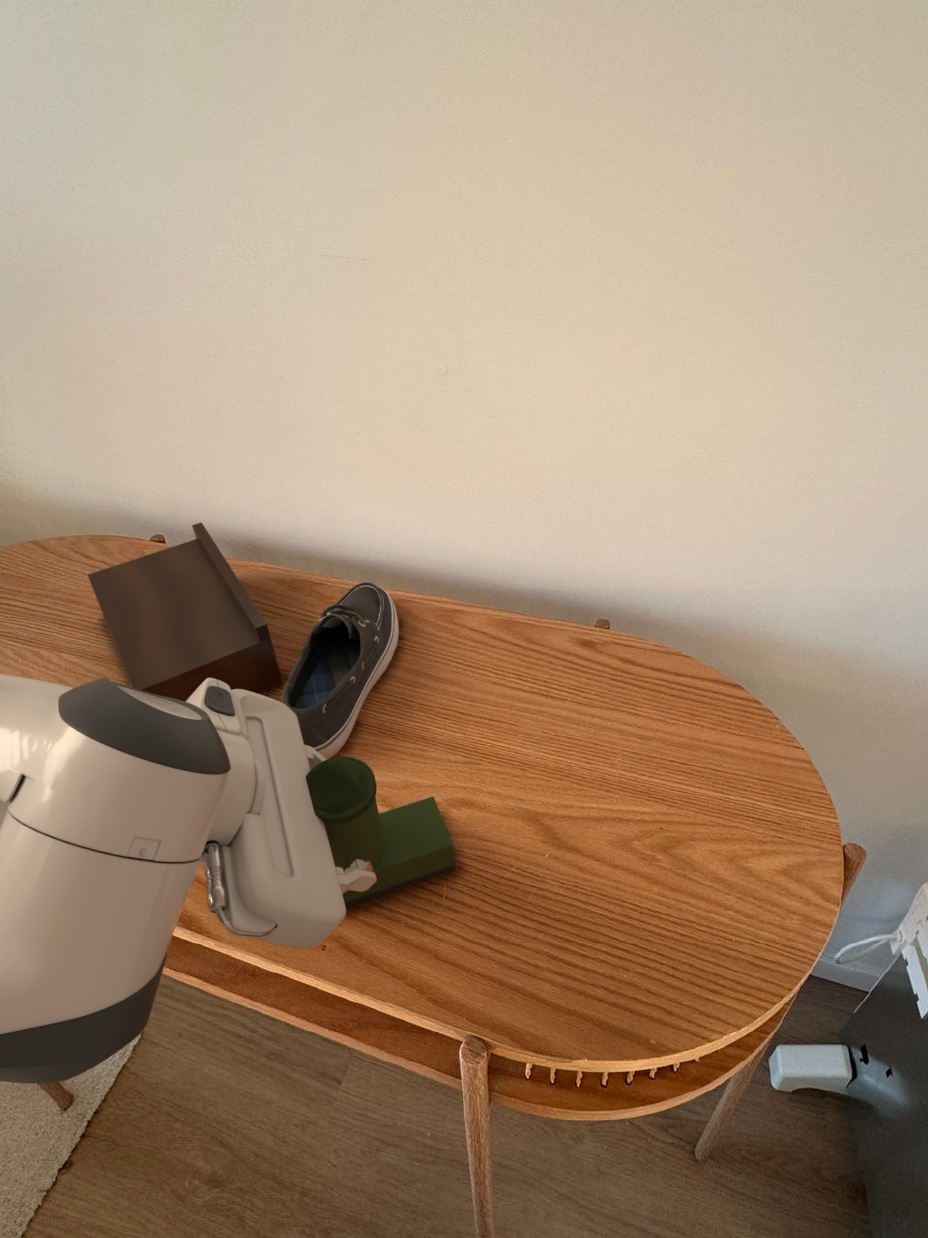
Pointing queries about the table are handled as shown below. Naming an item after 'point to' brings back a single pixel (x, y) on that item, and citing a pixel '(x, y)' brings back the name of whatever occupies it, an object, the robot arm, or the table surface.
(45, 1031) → the robot arm
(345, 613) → the boat shoe
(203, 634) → the shoe bench
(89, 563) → the table surface
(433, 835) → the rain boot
